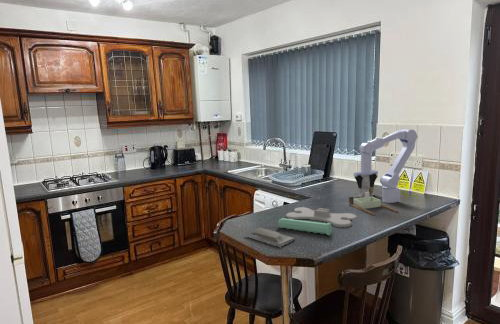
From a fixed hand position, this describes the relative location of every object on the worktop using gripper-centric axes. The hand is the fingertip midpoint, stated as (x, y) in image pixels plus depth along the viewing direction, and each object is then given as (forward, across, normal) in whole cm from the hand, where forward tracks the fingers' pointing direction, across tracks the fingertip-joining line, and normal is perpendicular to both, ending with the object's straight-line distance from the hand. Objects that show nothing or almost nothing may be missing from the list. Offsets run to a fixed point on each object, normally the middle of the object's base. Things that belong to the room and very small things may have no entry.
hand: (365, 187), depth 191 cm
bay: (+10, -3, -10) cm, 14 cm away
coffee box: (+10, +12, +16) cm, 22 cm away
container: (+10, -51, -26) cm, 58 cm away
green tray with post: (+9, -3, -6) cm, 11 cm away
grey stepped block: (+11, -69, -30) cm, 76 cm away
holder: (+11, -35, -12) cm, 38 cm away
